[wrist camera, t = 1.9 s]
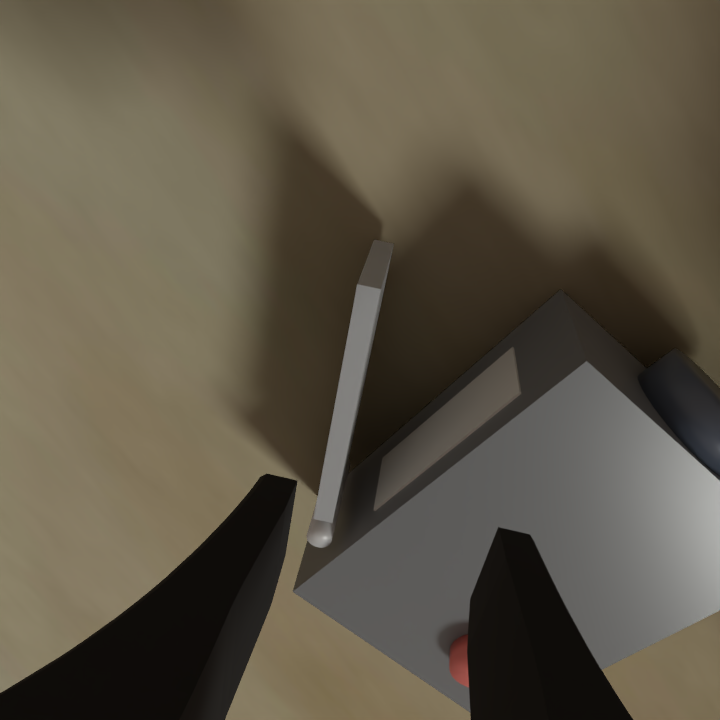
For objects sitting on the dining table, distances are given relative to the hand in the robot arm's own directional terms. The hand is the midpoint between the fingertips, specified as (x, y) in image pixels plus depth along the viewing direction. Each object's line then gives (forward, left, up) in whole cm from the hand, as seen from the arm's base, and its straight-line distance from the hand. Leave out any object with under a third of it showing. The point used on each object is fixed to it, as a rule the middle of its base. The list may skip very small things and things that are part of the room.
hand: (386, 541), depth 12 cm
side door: (+2, 0, -9) cm, 9 cm away
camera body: (+2, +7, -9) cm, 12 cm away
